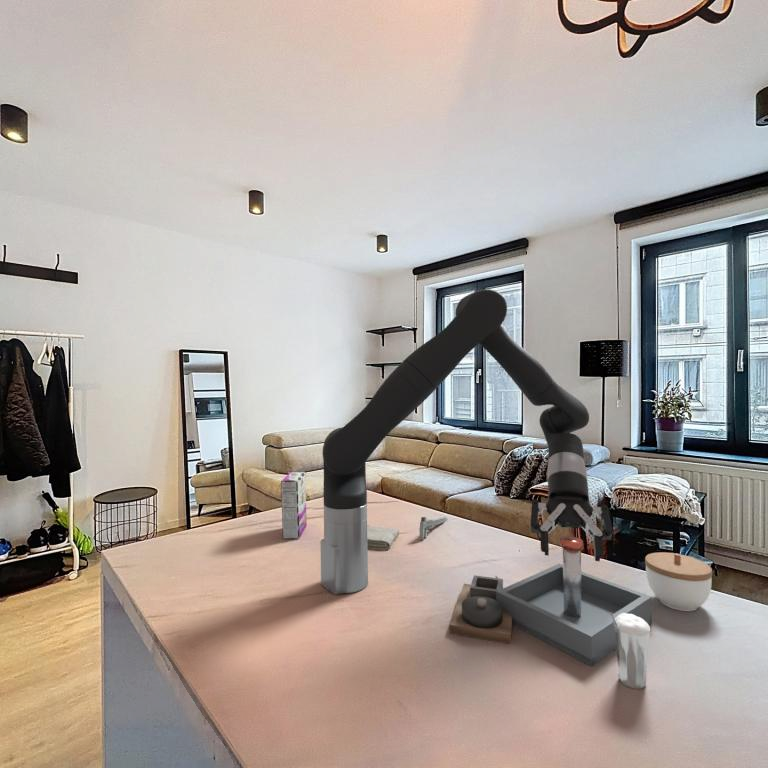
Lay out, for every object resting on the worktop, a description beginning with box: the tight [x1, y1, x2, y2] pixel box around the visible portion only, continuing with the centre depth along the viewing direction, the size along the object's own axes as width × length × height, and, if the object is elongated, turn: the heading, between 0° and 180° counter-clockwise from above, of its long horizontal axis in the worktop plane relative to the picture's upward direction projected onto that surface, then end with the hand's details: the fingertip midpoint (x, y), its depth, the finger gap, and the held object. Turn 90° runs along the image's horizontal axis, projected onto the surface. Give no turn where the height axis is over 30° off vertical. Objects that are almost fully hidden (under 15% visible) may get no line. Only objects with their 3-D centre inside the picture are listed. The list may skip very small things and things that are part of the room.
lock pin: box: [559, 535, 584, 618], centre depth 80 cm, size 4×4×13 cm
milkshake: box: [610, 612, 651, 690], centre depth 63 cm, size 4×5×10 cm
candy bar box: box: [280, 471, 307, 540], centre depth 128 cm, size 11×5×16 cm, turn 179°
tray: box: [496, 563, 653, 667], centre depth 80 cm, size 20×18×4 cm
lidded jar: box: [644, 551, 713, 612], centre depth 85 cm, size 11×11×9 cm
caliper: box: [419, 516, 448, 541], centre depth 129 cm, size 20×1×6 cm, turn 153°
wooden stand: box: [449, 574, 513, 644], centre depth 82 cm, size 16×10×4 cm, turn 161°
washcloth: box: [367, 524, 400, 550], centre depth 122 cm, size 12×18×3 cm, turn 75°
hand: (571, 556), depth 80 cm, fingers open, 8 cm apart
